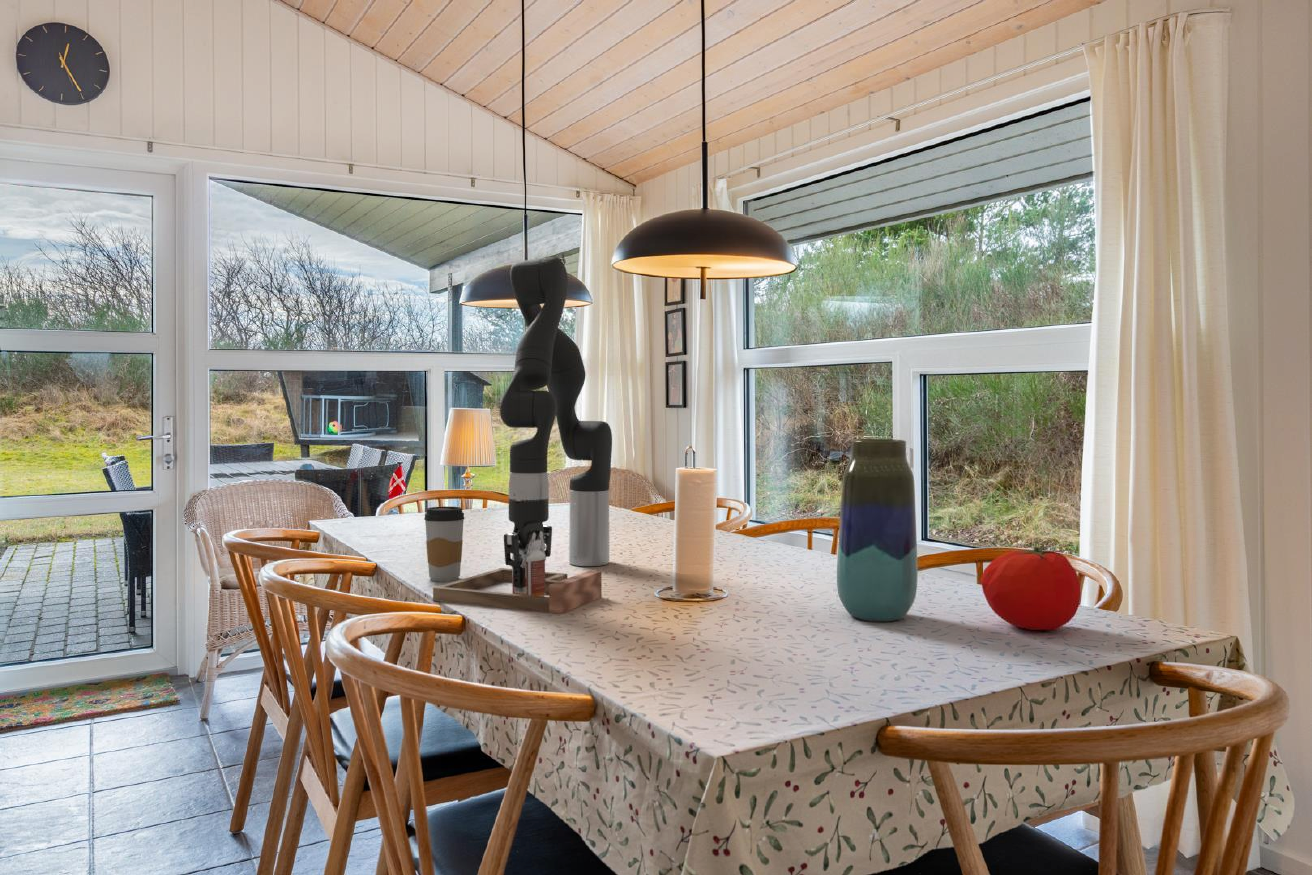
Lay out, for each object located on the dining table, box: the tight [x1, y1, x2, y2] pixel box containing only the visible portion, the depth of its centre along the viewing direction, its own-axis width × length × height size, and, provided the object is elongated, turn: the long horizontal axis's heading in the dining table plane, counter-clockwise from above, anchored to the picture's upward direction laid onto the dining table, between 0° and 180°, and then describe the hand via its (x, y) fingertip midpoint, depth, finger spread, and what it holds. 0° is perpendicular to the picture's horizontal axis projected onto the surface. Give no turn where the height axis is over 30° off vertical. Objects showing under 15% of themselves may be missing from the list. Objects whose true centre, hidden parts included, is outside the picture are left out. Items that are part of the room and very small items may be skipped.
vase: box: [836, 438, 919, 623], centre depth 165 cm, size 14×14×31 cm
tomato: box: [980, 544, 1081, 631], centre depth 158 cm, size 16×14×14 cm
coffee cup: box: [424, 506, 465, 582], centre depth 199 cm, size 8×8×15 cm
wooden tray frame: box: [432, 567, 603, 615], centre depth 183 cm, size 24×28×5 cm
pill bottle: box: [511, 539, 546, 597], centre depth 178 cm, size 6×6×11 cm
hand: (528, 583), depth 178 cm, fingers closed on pill bottle, 6 cm apart
